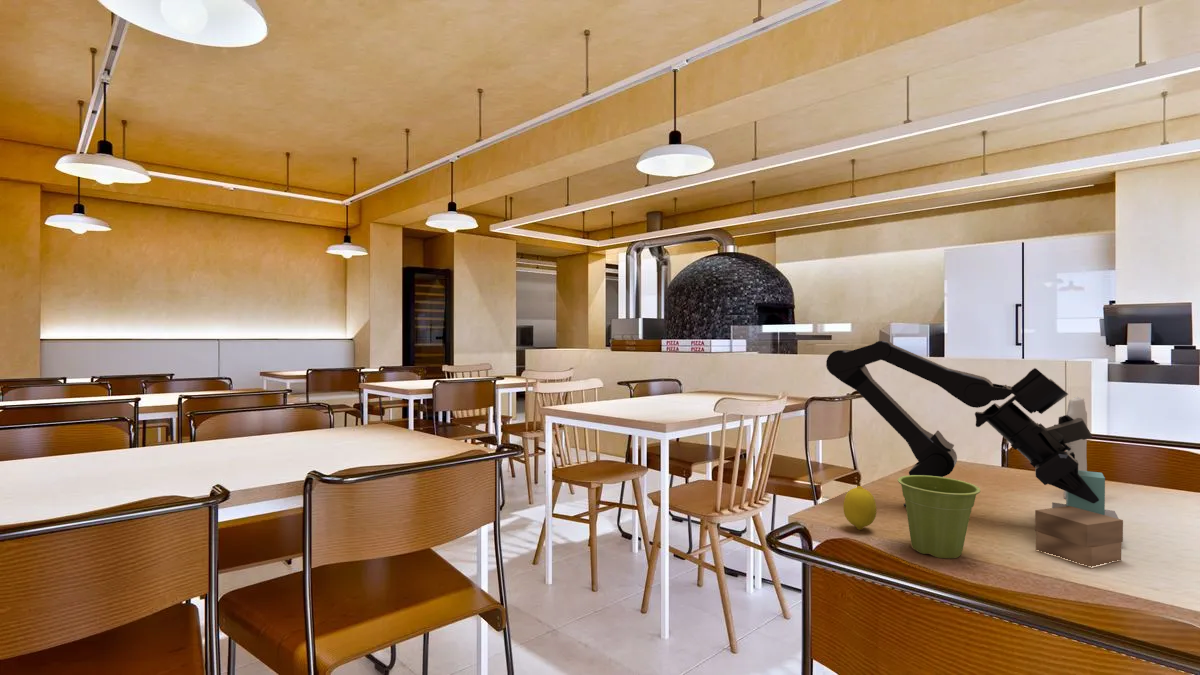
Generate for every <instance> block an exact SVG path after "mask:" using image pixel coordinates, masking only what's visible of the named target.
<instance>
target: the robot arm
mask: <svg viewBox="0 0 1200 675" xmlns="http://www.w3.org/2000/svg"><path fill="white" fill-rule="evenodd" d="M879 361H883V362H886V363H889V364H891V365H892V366H895V367H897V368H899V369H901V370H904V371H906V372H908V373H910V374H912V375H915V376H917V377H919V378H922V379H923V380H926V381H929V382H931V383H933V384H935V385H937V386H939V387H940V388H941V389H943V390H944V391H946V392H947V393H948V394H950V395H951V396H953V397H954V398H956V400H958V401H960V402H962V403H963V404H964V405H966V406H968V407H971V408H974V409H975V408H976V409H979V408H983V407H986V406H987V405H989V404H990V403H991V402H992V401H993V402H994V401H995V402H996V401H1003V400H1004V401H1005V399H1007V398H1008V397H1010V396H1011V395H1013V396H1012V397H1010V398H1009V399H1008V400H1006V401H1005V402H1004V403H1002V404H1001V405H999V404H997V403H995V402H994V403H992V404H991V405H990V406H989V407H987V408H986V409H984V410H983V411H981V412H980V411H975V413H974V416H975V417H974V418H975V426H976V428H980V427H981V426H983V425H984V424H985V423H986V422H987V423H988V425H990V426H991V427H992V428H993V429H994V430H995V431H996V432H998V434H1000V435H1001V436H1002V437H1003V438H1004V439H1005V440H1006V441H1007V442H1008V443H1010V447H1011V448H1013V449H1014V450H1017V451H1018V452H1019V453H1020V454H1021V455H1022V456H1024V457H1025V458H1026V459H1027V460H1028V461H1029V464H1030V465H1031V466H1032V467H1033V468H1035V478H1036V479H1037V480H1038V481H1040V482H1041V483H1042V484H1043V485H1044V486H1047V485H1048V486H1049V485H1050V486H1053V487H1055V488H1057V489H1059V490H1060V489H1061V490H1062V491H1063V492H1064V491H1067V492H1069V493H1071V494H1073V495H1076V496H1078V497H1080V498H1082V499H1085V500H1087V501H1089V502H1091V503H1096V502H1097V501H1099V499H1098V497H1097V496H1096V495H1095V494H1094V492H1093V491H1092V490H1091V489H1090V487H1089V486H1088V485H1087V484H1086V482H1085V481H1084V480H1083V479H1082V478H1081V476H1080V475H1079V474H1078V466H1079V464H1078V461H1077V460H1075V454H1074V452H1071V453H1070V454H1069V453H1068V452H1066V450H1068V451H1070V450H1071V447H1070V446H1069V445H1068V444H1067V443H1070V442H1073V441H1077V440H1080V439H1083V440H1085V439H1087V440H1088V439H1091V438H1093V435H1092V433H1091V431H1090V430H1089V427H1088V425H1087V426H1086V424H1085V422H1084V421H1083V419H1082V418H1076V419H1073V418H1071V417H1070V416H1068V415H1066V414H1065V415H1062V416H1061V415H1060V416H1058V422H1057V424H1054V425H1052V426H1048V427H1045V425H1043V424H1042V423H1038V422H1036V421H1035V420H1033V418H1031V417H1030V416H1029V415H1028V414H1027V413H1026V412H1024V411H1023V410H1022V408H1023V409H1025V410H1026V411H1027V412H1028V413H1030V414H1033V413H1036V412H1037V413H1039V414H1041V415H1043V414H1044V413H1045V412H1047V411H1048V410H1049V409H1051V408H1052V407H1053V406H1055V405H1056V404H1057V403H1059V402H1060V401H1061V400H1063V399H1064V398H1066V397H1067V396H1068V395H1069V393H1068V392H1066V390H1065V389H1063V388H1062V387H1061V386H1060V385H1059V384H1058V383H1057V382H1056V381H1054V380H1053V379H1052V378H1048V377H1047V376H1046V375H1045V374H1044V373H1042V372H1041V371H1040V370H1039V369H1038V368H1036V367H1034V368H1032V369H1031V370H1030V371H1029V372H1028V373H1027V374H1026V375H1025V376H1024V377H1022V378H1021V379H1020V380H1019V381H1017V382H1016V383H1014V385H1011V386H1010V385H1007V384H999V383H998V384H997V383H993V382H992V381H991V380H990V379H989V378H987V377H985V376H982V375H978V374H973V373H970V372H965V371H961V370H957V369H952V368H948V367H946V366H943V365H941V364H939V363H937V362H934V361H933V360H930V359H927V358H925V357H923V356H921V355H918V354H916V353H914V352H911V351H909V350H907V349H904V348H901V347H900V346H897V345H895V344H894V343H892V342H891V341H888V340H878V341H876V342H875V343H872V344H869V345H866V346H863V347H859V348H855V349H852V350H851V349H839V350H834V351H832V352H831V353H830V354H829V355H828V356H827V357H826V361H825V362H826V364H825V367H826V369H827V371H828V372H829V374H831V375H832V376H834V377H835V378H836V379H837V380H839V381H840V382H842V383H843V384H845V385H847V386H848V387H851V388H852V389H853V390H855V391H856V392H858V394H859V395H860V396H861V397H862V398H863V399H864V400H865V401H866V402H868V404H869V405H870V406H871V407H872V408H873V409H874V410H875V411H876V412H877V413H878V414H879V415H880V416H881V417H882V418H883V419H884V420H885V421H886V422H887V423H888V424H889V425H890V426H891V427H892V428H893V429H894V430H895V431H896V432H897V434H899V435H900V436H901V438H903V440H904V441H906V442H905V443H907V445H908V446H909V448H910V450H911V452H912V453H913V455H914V456H913V457H915V459H916V460H917V462H916V463H914V465H913V466H912V467H911V468H910V470H909V471H908V476H909V475H924V476H925V475H927V476H938V477H946V476H948V475H950V474H951V473H952V472H953V470H954V468H955V467H956V465H957V462H958V455H957V452H956V451H955V450H954V446H955V444H953V443H952V442H950V441H948V440H947V439H946V438H945V437H944V435H943V434H942V432H940V431H939V430H936V432H935V433H934V434H933V433H931V432H929V431H927V430H926V429H924V428H923V427H922V426H921V425H920V424H919V423H918V422H917V421H916V420H915V419H914V418H913V417H912V416H911V415H910V414H909V413H908V412H907V410H905V409H904V408H903V407H902V406H901V404H899V403H898V402H897V401H896V400H895V399H894V398H893V397H892V396H891V395H890V394H889V393H888V392H887V391H886V390H885V389H884V388H883V387H882V386H881V385H880V384H879V383H878V382H877V381H876V380H875V379H874V378H873V376H872V375H871V373H870V371H869V370H868V368H867V365H870V364H873V363H875V362H879ZM1015 401H1016V402H1017V403H1018V404H1019V405H1020V406H1021V407H1022V408H1020V407H1019V406H1018V405H1016V404H1015V403H1014V402H1015ZM903 507H905V508H906V503H903Z"/></svg>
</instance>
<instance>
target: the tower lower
mask: <svg viewBox="0 0 1200 675" xmlns="http://www.w3.org/2000/svg"><path fill="white" fill-rule="evenodd" d="M1122 543H1123V542H1121V543H1114V544H1108V545H1101V546H1094V547H1088V548H1087V547H1084V546H1081V545H1078V544H1074V543H1071V542H1068V541H1065V540H1062V539H1059V538H1056V537H1052V536H1049V535H1046V534H1043V533H1040V532H1037V531H1035V551H1036V550H1039V551H1042V552H1046V553H1049V554H1053V555H1056V556H1060V557H1062V558H1065V559H1068V560H1071V561H1074V562H1077V563H1080V564H1084V565H1087V566H1091V567H1092V566H1096V565H1100V564H1104V563H1109V562H1112V561H1117V560H1121V561H1122Z"/></svg>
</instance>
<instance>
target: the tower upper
mask: <svg viewBox="0 0 1200 675" xmlns="http://www.w3.org/2000/svg"><path fill="white" fill-rule="evenodd" d="M1034 511H1035V514H1034V517H1035V518H1034V520H1035V521H1034V522H1035V525H1034V530H1035V532H1040V533H1043V534H1046V535H1049V536H1052V537H1056V538H1059V539H1062V540H1065V541H1068V542H1071V543H1074V544H1078V545H1081V546H1084V547H1087V548H1088V547H1094V546H1101V545H1108V544H1114V543H1121V542H1122V543H1123V542H1124V520H1123V519H1122V518H1121V519H1120V518H1119V519H1117V518H1113V517H1109V516H1106V515H1102V514H1098V513H1094V512H1091V511H1087V510H1083V509H1079V508H1075V507H1072V506H1065V507H1057V508H1052V507H1051V508H1043V509H1035V510H1034ZM1122 543H1121V544H1122Z"/></svg>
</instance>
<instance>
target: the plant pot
mask: <svg viewBox="0 0 1200 675" xmlns="http://www.w3.org/2000/svg"><path fill="white" fill-rule="evenodd" d="M897 482H898V484H900V486H901V489H902V490H901V491H902V496H903V498H904V502H905V503H906V507H905V510H906V517H907V522H908V530H909V536H910V544H911V547H912V549H913V550H914V551H917V552H919V553H920V554H924V555H926V554H929V555H931V556H933V557H935V558H938V559H956V558H959V557H960V556H961V555H962V554H963V550H964V549H963V548H964V544H965V540H966V536H967V533H968V532H967V531H968V527H969V522H970V518H971V513H972V509H973V507H974V505H975V502H976V498H977V495H979V494H980V493H981V488H979V486H977V485H975V484H973V483H970V482H967V481H964V480H959V479H955V478H951V477H946V476H943V477H938V476H927V475H925V476H924V475H909V474H908V475H903V476H900V477H898V478H897Z"/></svg>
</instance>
